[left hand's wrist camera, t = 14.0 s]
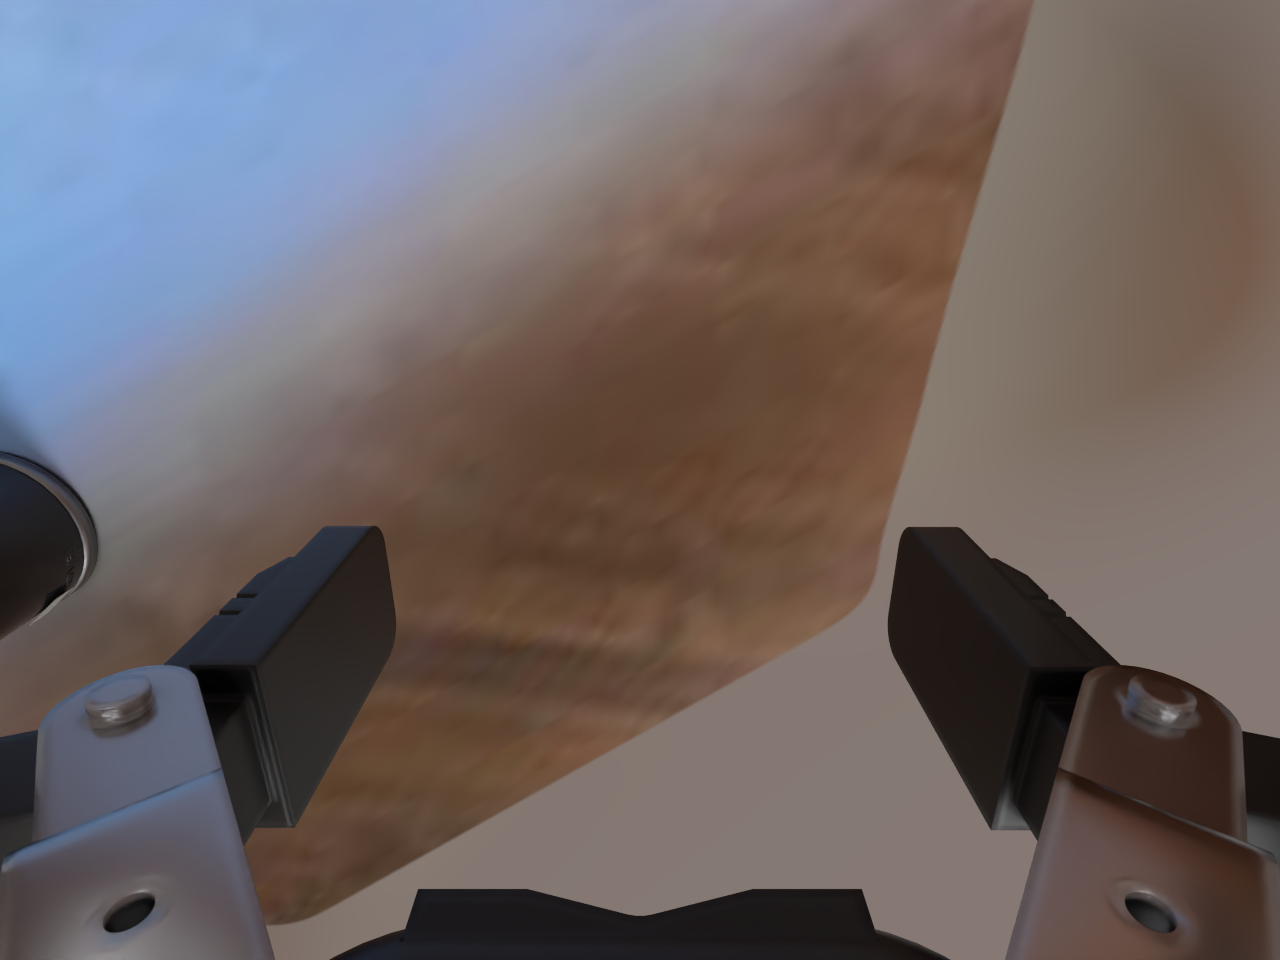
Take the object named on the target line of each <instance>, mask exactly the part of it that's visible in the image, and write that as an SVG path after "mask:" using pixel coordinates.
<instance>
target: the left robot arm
mask: <svg viewBox="0 0 1280 960" xmlns="http://www.w3.org/2000/svg"><path fill="white" fill-rule="evenodd" d="M96 560H97V539H96V534H95V531H94V528H93V525H92V522H91V520H90V518H89V516H88V514H87V512H86V510H85V509H84V507H83V506H82V504H81V503H80V502H79V500H78V499H77V498H76V497H75V495H74V494H73V493H72V492H71V491H70V490H69V489H68V488H67V487H66V486H65V485H64V484H63V483H62V482H60V481H59V480H58V479H57V478H55V477H54V476H53V475H51V474H50V473H48V472H47V471H45V470H44V469H42V468H40V467H39V466H37V465H35V464H33V463H31V462H28V461H26V460H24V459H21V458H18V457H15V456H12V455H8V454H4V453H0V640H1V639H3V638H4V637H6V636H7V635H9V634H10V633H12V632H13V631H15V630H16V629H18V628H19V627H21V626H22V625H24V624H25V623H26V622H28V621H29V620H31V619H32V618H34V617H35V616H37V615H38V614H40V613H41V612H42V613H41V614H40V615H39V616H38V617H37V618H36V619H35V620H34V621H33V622H32V623H31V624H33V623H34V622H36V621H37V620H39V619H40V618H41V617H43V616H44V615H46V614H47V613H48V612H49V611H50V610H51V609H52V608H53V607H54V606H55V605H56V604H57V603H58V602H60V601H62V600H63V599H65V598H66V597H68V596H69V595H71V594H72V593H74V592H75V591H77V590H78V589H79V588H80V587H82V586H83V585H84V584H85V583H86V581H87V580H88V579H89V577H90V576H91V574H92V572H93V570H94V567H95V564H96ZM31 624H30V625H31ZM30 625H29V626H30ZM395 632H396V615H395V608H394V601H393V594H392V587H391V581H390V574H389V567H388V560H387V553H386V547H385V541H384V537H383V534H382V532H381V530H380V529H379V528H378V527H377V526H326V527H324V528H322V529H321V530H320V531H319V532H318V533H317V534H316V535H315V536H314V538H313V539H312V540H311V541H310V542H309V543H308V544H307V545H306V546H305V547H304V548H303V549H302V550H301V551H300V552H299V553H298V554H297V555H296V556H295V557H288V558H286V559H284V560H283V561H281V562H279V563H277V564H275V565H273V566H272V567H270V568H268V569H266V570H264V571H262V572H260V573H259V574H257V575H256V576H255V577H254V578H253V579H252V580H251V581H250V582H249V583H248V584H247V585H246V586H245V587H244V588H243V589H242V590H241V591H239V592H238V593H237V598H232V599H231V600H230V601H229V602H228V603H227V604H226V605H225V606H224V607H223V608H222V609H221V610H220V614H219V615H215V616H214V617H213V618H212V619H211V620H210V621H209V622H207V623H206V624H205V625H204V626H203V627H202V628H201V629H200V630H199V631H198V632H197V633H196V634H195V635H194V636H193V637H192V638H191V639H190V640H189V641H188V642H187V643H186V644H185V645H184V646H183V647H182V648H181V649H180V650H179V651H178V652H176V653H175V654H174V655H173V656H172V657H171V658H170V659H169V660H168V661H167V662H166V663H165V664H164V665H154V666H145V667H140V668H134V669H130V670H126V671H123V672H119V673H116V674H113V675H110V676H107V677H104V678H102V679H100V680H97V681H95V682H93V683H91V684H89V685H87V686H85V687H83V688H81V689H79V690H77V691H76V692H74V693H72V694H71V695H69V696H68V697H66V698H65V699H63V700H62V701H61V702H59V703H58V704H57V705H56V706H55V707H54V708H53V709H51V710H50V711H49V713H48V714H47V715H46V716H45V717H44V719H43V720H42V722H41V724H40V726H39V730H36V731H30V732H25V733H20V734H15V735H10V736H5V737H0V960H275V957H274V954H273V950H272V946H271V943H270V939H269V935H268V932H267V928H266V925H265V921H264V917H263V914H262V910H261V907H260V903H259V899H258V896H257V892H256V889H255V885H254V881H253V878H252V874H251V871H250V867H249V863H248V860H247V856H246V853H245V849H244V845H245V843H246V842H247V840H248V839H249V837H250V835H251V834H252V832H253V830H254V829H255V828H295V826H296V824H297V822H298V821H299V819H300V817H301V815H302V813H303V812H304V810H305V808H306V806H307V804H308V803H309V801H310V799H311V797H312V795H313V794H314V792H315V790H316V788H317V786H318V785H319V783H320V781H321V779H322V777H323V776H324V774H325V772H326V770H327V768H328V766H329V765H330V763H331V761H332V759H333V757H334V756H335V754H336V752H337V750H338V748H339V747H340V745H341V743H342V741H343V739H344V738H345V736H346V734H347V732H348V730H349V729H350V727H351V725H352V723H353V721H354V719H355V718H356V716H357V714H358V712H359V710H360V709H361V707H362V705H363V703H364V701H365V700H366V698H367V696H368V694H369V692H370V691H371V689H372V687H373V685H374V683H375V682H376V680H377V678H378V676H379V674H380V673H381V671H382V669H383V667H384V665H385V663H386V662H387V660H388V658H389V656H390V654H391V651H392V648H393V645H394V640H395ZM888 636H889V642H890V647H891V650H892V653H893V656H894V658H895V660H896V661H897V663H898V665H899V667H900V669H901V670H902V672H903V674H904V676H905V677H906V679H907V681H908V683H909V685H910V686H911V688H912V690H913V692H914V694H915V695H916V697H917V699H918V701H919V703H920V704H921V706H922V708H923V710H924V711H925V713H926V715H927V717H928V719H929V720H930V722H931V724H932V726H933V728H934V729H935V731H936V733H937V735H938V736H939V738H940V740H941V742H942V744H943V745H944V747H945V749H946V751H947V752H948V754H949V756H950V758H951V760H952V761H953V763H954V765H955V767H956V769H957V770H958V772H959V774H960V776H961V777H962V779H963V781H964V783H965V785H966V786H967V788H968V790H969V792H970V794H971V795H972V797H973V799H974V801H975V802H976V804H977V806H978V808H979V810H980V811H981V813H982V815H983V817H984V818H985V820H986V822H987V824H988V826H989V827H990V829H991V830H1031V831H1032V833H1033V834H1034V836H1035V838H1036V839H1037V841H1038V842H1037V845H1036V849H1035V853H1034V856H1033V860H1032V863H1031V867H1030V871H1029V874H1028V878H1027V881H1026V885H1025V889H1024V892H1023V896H1022V899H1021V903H1020V907H1019V910H1018V914H1017V917H1016V921H1015V925H1014V928H1013V932H1012V935H1011V939H1010V943H1009V947H1008V950H1007V954H1006V957H1005V960H1280V738H1275V737H1270V736H1265V735H1259V734H1254V733H1249V732H1244V731H1242V730H1241V726H1240V724H1239V722H1238V721H1237V719H1236V717H1235V716H1234V715H1233V714H1232V713H1231V712H1230V710H1229V709H1227V708H1226V707H1225V706H1224V705H1223V704H1222V703H1221V702H1219V701H1218V700H1216V699H1215V698H1214V697H1212V696H1211V695H1209V694H1208V693H1206V692H1204V691H1203V690H1201V689H1199V688H1197V687H1195V686H1193V685H1191V684H1189V683H1187V682H1185V681H1183V680H1180V679H1178V678H1175V677H1173V676H1170V675H1167V674H1164V673H1161V672H1157V671H1154V670H1150V669H1146V668H1140V667H1135V666H1126V665H1120V664H1119V663H1118V662H1117V661H1116V660H1115V659H1114V658H1113V657H1112V656H1111V655H1110V654H1109V653H1108V652H1107V651H1106V650H1104V648H1102V647H1101V646H1100V645H1099V644H1098V643H1097V642H1096V641H1095V640H1094V639H1093V638H1092V637H1091V636H1090V635H1089V634H1088V633H1087V632H1086V631H1085V630H1084V629H1083V628H1082V627H1081V626H1080V625H1078V624H1077V623H1076V622H1075V621H1074V620H1073V619H1072V618H1071V617H1066V612H1065V611H1064V610H1063V609H1062V608H1061V607H1060V606H1059V605H1058V604H1057V603H1056V602H1054V600H1049V599H1048V595H1047V594H1046V593H1045V592H1044V591H1043V590H1042V589H1041V588H1040V587H1039V586H1038V585H1037V584H1036V583H1035V582H1034V581H1033V580H1032V579H1031V578H1030V577H1029V576H1027V575H1026V574H1024V573H1022V572H1020V571H1018V570H1016V569H1015V568H1013V567H1011V566H1009V565H1007V564H1005V563H1003V562H1002V561H1000V560H998V559H996V558H990V557H989V556H988V555H987V554H986V553H985V552H984V551H983V550H982V549H981V548H980V547H979V546H978V545H977V544H976V543H975V542H974V541H973V540H972V539H971V538H970V537H969V536H968V535H967V534H966V533H965V532H964V531H963V530H962V529H961V528H958V527H908V528H906V529H905V530H904V531H903V533H902V535H901V538H900V542H899V547H898V554H897V561H896V567H895V574H894V581H893V588H892V594H891V601H890V607H889V614H888ZM330 960H950V959H948V958H947V957H945V956H943V955H941V954H939V953H936V952H934V951H932V950H930V949H928V948H926V947H924V946H922V945H920V944H918V943H915V942H912V941H910V940H907V939H904V938H901V937H899V936H896V935H893V934H890V933H887V932H883V931H880V930H876V929H874V925H873V922H872V919H871V916H870V913H869V910H868V907H867V904H866V901H865V898H864V895H863V891H862V889H752V890H747V891H743V892H740V893H736V894H732V895H728V896H724V897H720V898H716V899H712V900H708V901H704V902H700V903H696V904H692V905H688V906H684V907H680V908H676V909H672V910H669V911H664V912H660V913H657V914H653V915H647V916H633V915H627V914H623V913H619V912H615V911H612V910H608V909H604V908H600V907H596V906H592V905H588V904H584V903H580V902H576V901H572V900H568V899H564V898H560V897H556V896H552V895H548V894H544V893H541V892H537V891H533V890H529V889H418V891H417V895H416V898H415V901H414V904H413V907H412V910H411V913H410V916H409V919H408V923H407V925H406V929H404V930H400V931H397V932H393V933H390V934H387V935H384V936H382V937H379V938H376V939H373V940H370V941H368V942H365V943H362V944H360V945H358V946H356V947H354V948H352V949H350V950H348V951H346V952H344V953H342V954H339V955H337V956H335V957H333V958H332V959H330Z"/></svg>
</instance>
